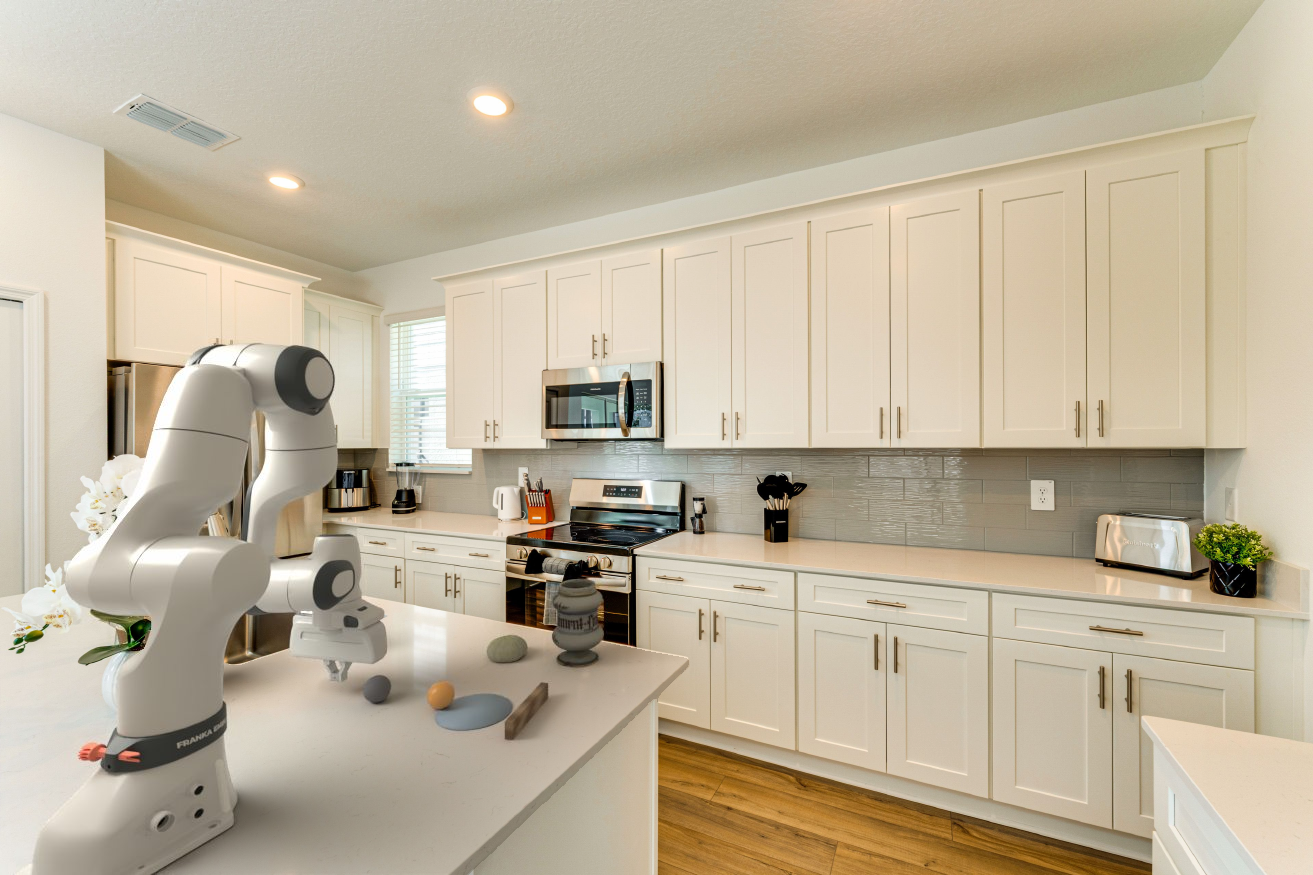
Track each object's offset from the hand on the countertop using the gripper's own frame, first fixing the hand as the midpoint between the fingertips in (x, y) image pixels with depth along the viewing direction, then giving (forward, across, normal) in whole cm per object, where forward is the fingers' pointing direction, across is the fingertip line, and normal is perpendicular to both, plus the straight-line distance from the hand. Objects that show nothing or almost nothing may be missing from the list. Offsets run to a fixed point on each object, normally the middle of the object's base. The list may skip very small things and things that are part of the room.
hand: (338, 680), depth 114 cm
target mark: (+3, +30, 0) cm, 31 cm away
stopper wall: (+3, +41, 0) cm, 42 cm away
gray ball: (+1, +9, 0) cm, 9 cm away
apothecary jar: (+4, +41, +28) cm, 50 cm away
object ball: (+1, +23, 0) cm, 23 cm away
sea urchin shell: (+4, +24, +26) cm, 36 cm away
